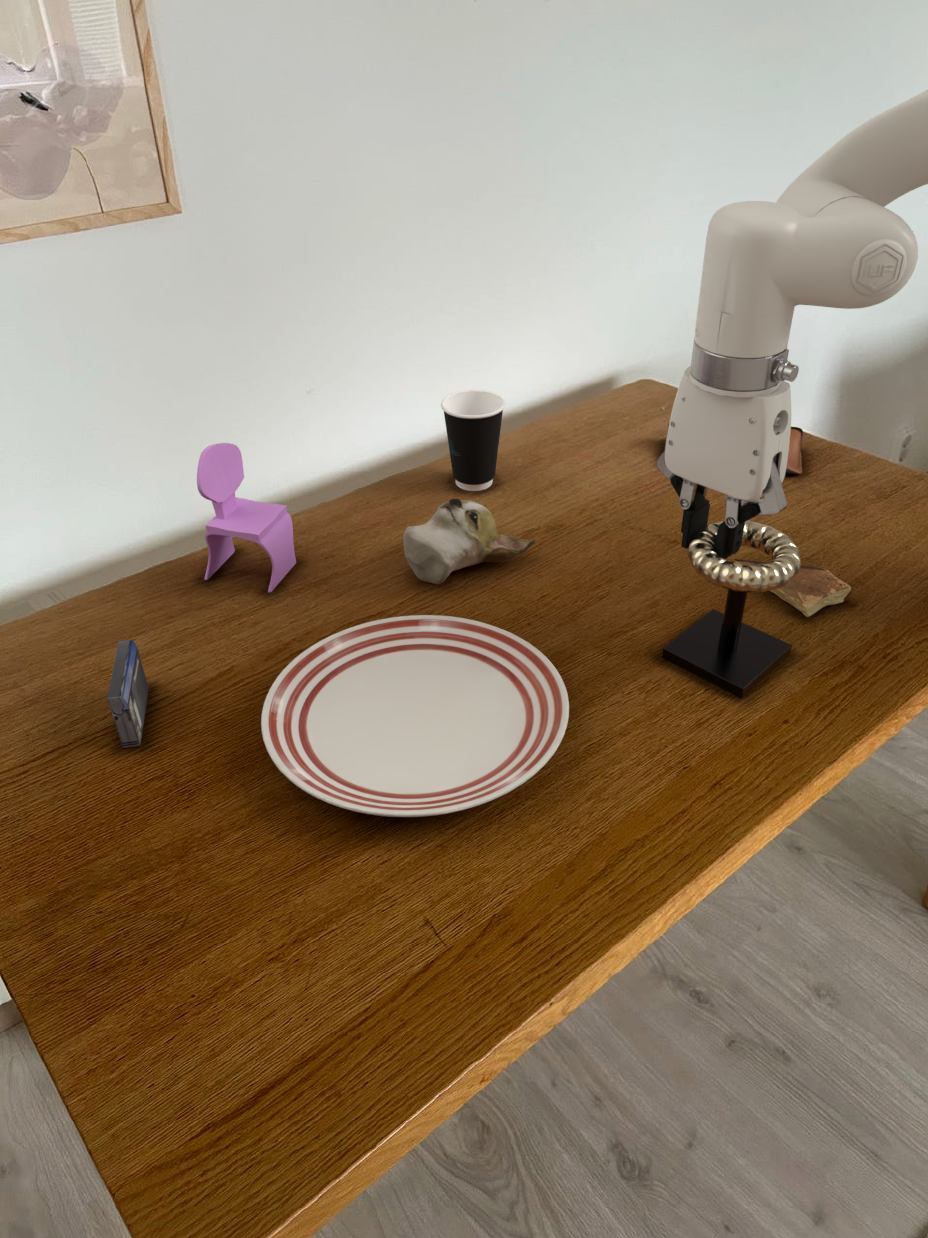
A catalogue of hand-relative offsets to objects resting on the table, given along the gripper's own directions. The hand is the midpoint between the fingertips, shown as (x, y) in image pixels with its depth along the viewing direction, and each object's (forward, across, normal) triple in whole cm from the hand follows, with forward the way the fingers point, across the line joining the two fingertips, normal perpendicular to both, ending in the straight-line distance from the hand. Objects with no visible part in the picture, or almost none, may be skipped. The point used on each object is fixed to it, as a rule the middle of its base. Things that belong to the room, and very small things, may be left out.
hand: (709, 547), depth 93 cm
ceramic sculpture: (+11, +27, +6) cm, 30 cm away
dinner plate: (+11, +11, +28) cm, 32 cm away
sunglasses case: (+11, +18, -37) cm, 43 cm away
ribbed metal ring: (-1, -4, 0) cm, 4 cm away
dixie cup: (+11, +39, -9) cm, 42 cm away
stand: (+11, -4, 0) cm, 12 cm away
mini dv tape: (+11, +31, +45) cm, 56 cm away
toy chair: (+11, +43, +23) cm, 50 cm away
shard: (+11, -3, -14) cm, 18 cm away
